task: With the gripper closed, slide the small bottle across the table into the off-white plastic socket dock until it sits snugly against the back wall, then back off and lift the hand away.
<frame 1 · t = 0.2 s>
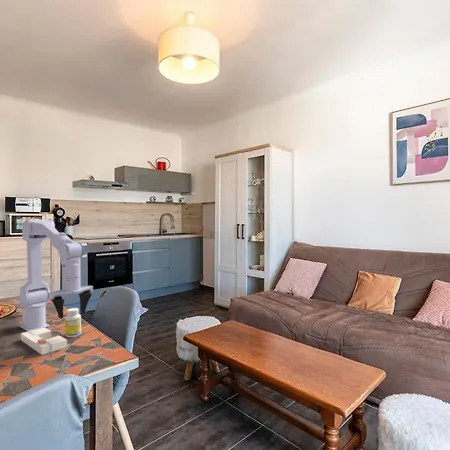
hand: (72, 315, 110), 10 cm above the table, tool pointing down, fingers open, 7 cm apart
supplement bottle: (73, 335, 119), on the table
socket dock: (50, 341, 112), on the table
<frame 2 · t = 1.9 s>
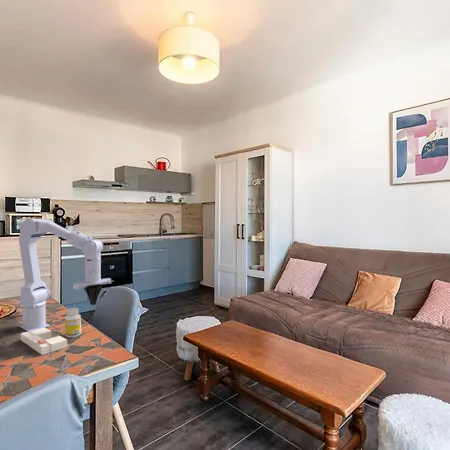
hand: (93, 304, 123), 10 cm above the table, tool pointing down, fingers closed
nothing on the table moved.
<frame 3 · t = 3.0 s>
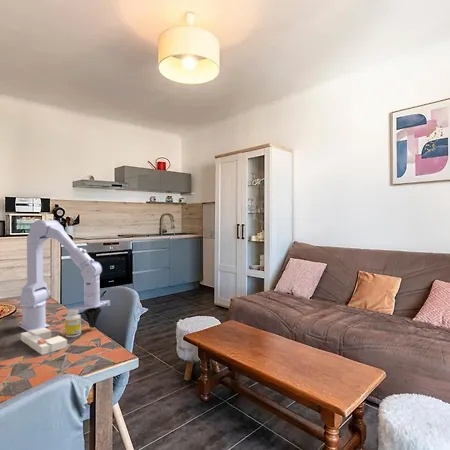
hand: (92, 326, 124), 1 cm above the table, tool pointing down, fingers closed
nothing on the table moved.
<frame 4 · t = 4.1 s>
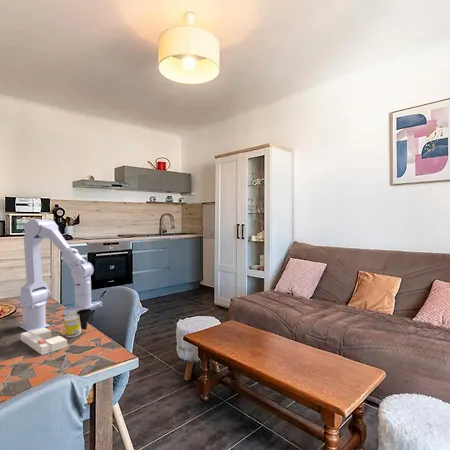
hand: (83, 328, 121), 1 cm above the table, tool pointing down, fingers closed, pressing on supplement bottle
supplement bottle: (73, 335, 119), on the table, touching gripper
everything else where it was.
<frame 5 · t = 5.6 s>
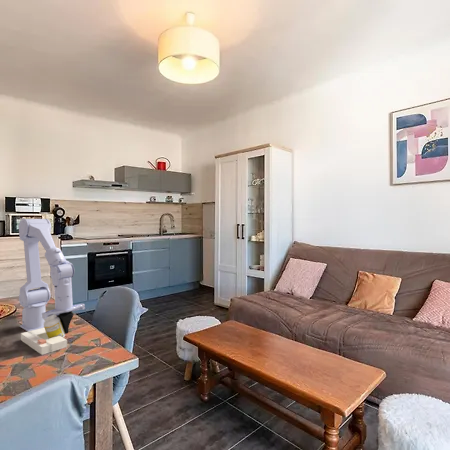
hand: (65, 333, 115), 2 cm above the table, tool pointing down, fingers closed, pressing on supplement bottle
supplement bottle: (57, 338, 114), on the table, touching gripper
everything else where it was.
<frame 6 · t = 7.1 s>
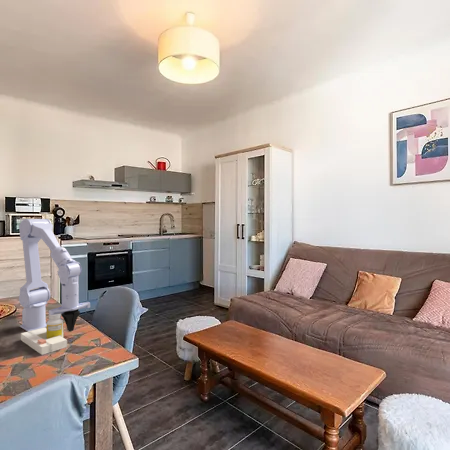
hand: (70, 330, 118), 2 cm above the table, tool pointing down, fingers closed
supplement bottle: (55, 341, 113), on the table
everything else where it was.
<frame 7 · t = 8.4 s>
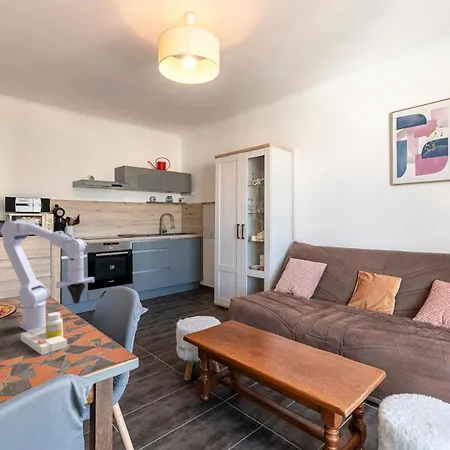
hand: (76, 302, 125), 10 cm above the table, tool pointing down, fingers closed
nothing on the table moved.
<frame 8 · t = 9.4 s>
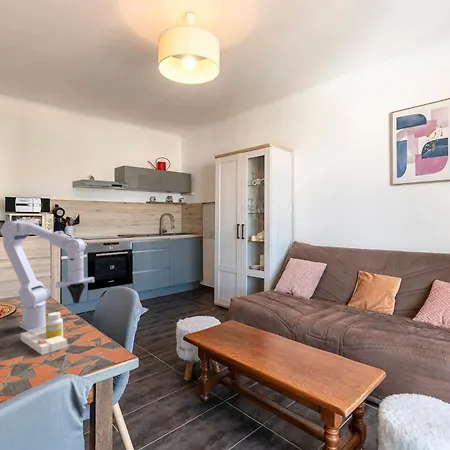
hand: (76, 302, 125), 10 cm above the table, tool pointing down, fingers closed
nothing on the table moved.
at the end: supplement bottle 1.1 cm off-centre on the socket dock, point 0.0 cm above the socket dock's base; supplement bottle tilted 1°; supplement bottle moved 6.8 cm from its start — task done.
